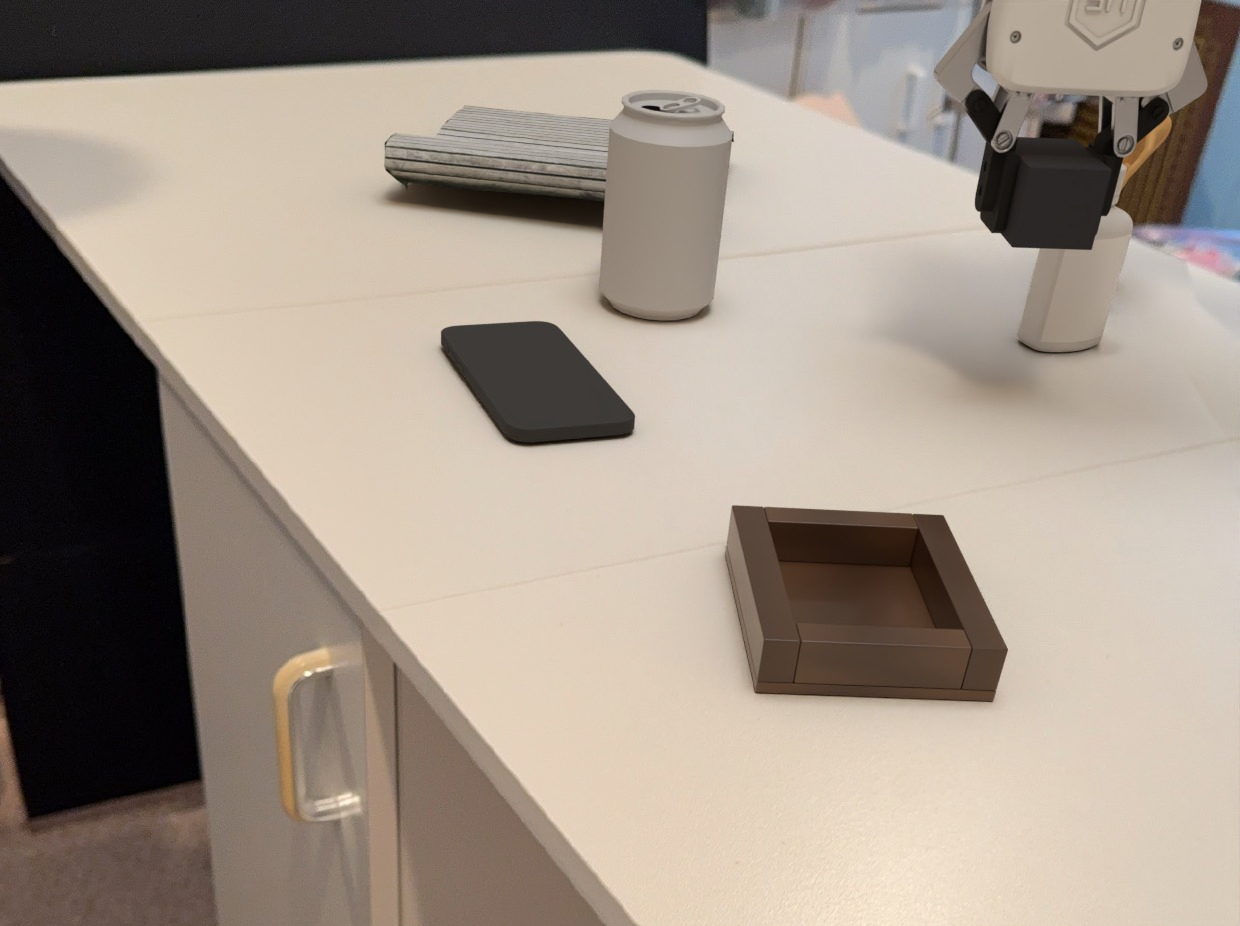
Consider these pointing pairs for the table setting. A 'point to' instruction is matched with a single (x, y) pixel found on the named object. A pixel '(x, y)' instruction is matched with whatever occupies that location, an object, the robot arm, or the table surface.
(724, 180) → the can
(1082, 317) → the eye dropper bottle
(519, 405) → the phone
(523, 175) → the mat
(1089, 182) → the block
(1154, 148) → the figurine
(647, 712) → the table surface
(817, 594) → the socket
